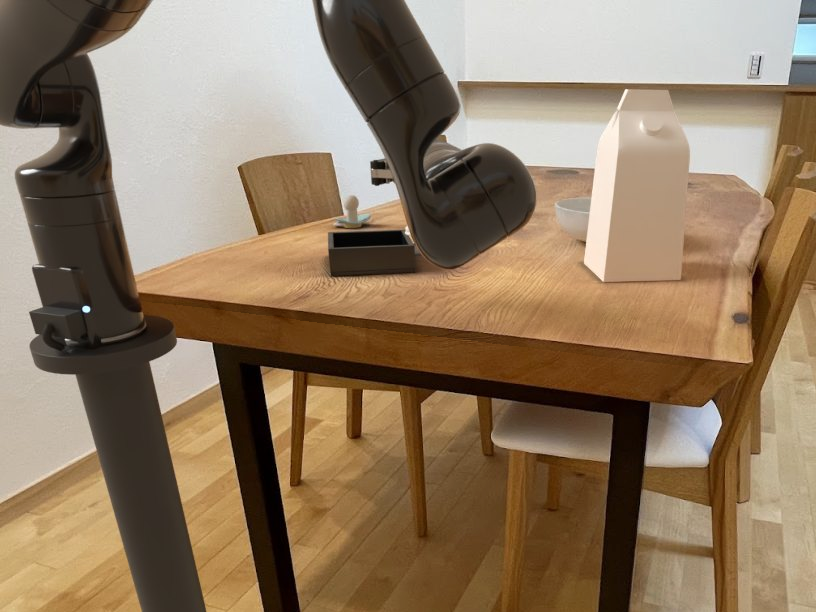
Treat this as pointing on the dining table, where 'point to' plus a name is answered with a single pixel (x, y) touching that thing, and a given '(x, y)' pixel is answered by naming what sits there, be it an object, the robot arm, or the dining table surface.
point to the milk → (639, 192)
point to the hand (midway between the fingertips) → (419, 164)
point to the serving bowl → (574, 216)
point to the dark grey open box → (370, 252)
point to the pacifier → (352, 214)
